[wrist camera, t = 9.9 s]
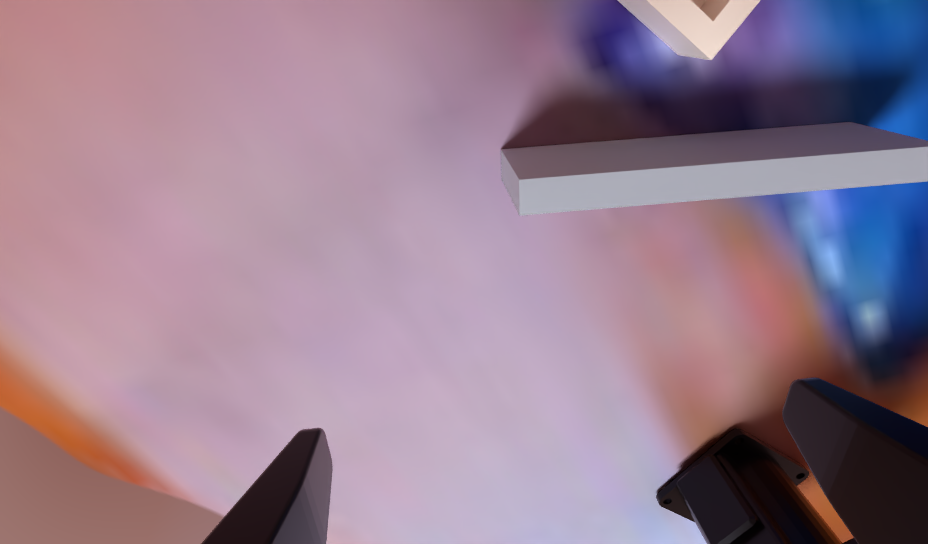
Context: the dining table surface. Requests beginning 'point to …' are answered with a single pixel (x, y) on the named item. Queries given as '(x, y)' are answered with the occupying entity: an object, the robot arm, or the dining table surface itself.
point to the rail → (709, 166)
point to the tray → (692, 22)
